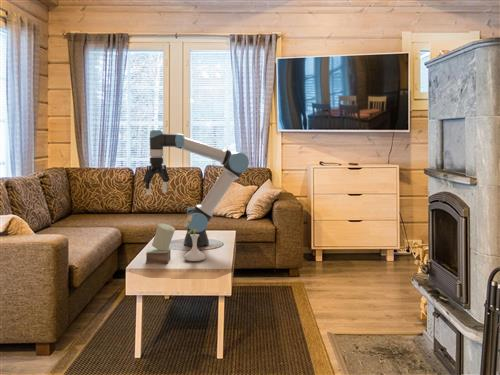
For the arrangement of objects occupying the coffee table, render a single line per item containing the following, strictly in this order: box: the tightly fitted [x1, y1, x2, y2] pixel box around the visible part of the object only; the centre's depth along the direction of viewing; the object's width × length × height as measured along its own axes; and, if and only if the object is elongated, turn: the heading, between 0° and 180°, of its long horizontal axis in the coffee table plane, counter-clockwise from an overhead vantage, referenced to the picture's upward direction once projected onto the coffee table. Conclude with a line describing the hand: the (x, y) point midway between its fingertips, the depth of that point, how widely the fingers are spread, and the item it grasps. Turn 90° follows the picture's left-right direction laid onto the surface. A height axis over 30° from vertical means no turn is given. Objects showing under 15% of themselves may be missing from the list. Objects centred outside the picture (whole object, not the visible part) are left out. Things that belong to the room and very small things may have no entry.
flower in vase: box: [182, 215, 206, 262], centre depth 265 cm, size 13×11×25 cm
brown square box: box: [145, 247, 172, 265], centre depth 263 cm, size 11×11×6 cm
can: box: [151, 222, 176, 251], centre depth 262 cm, size 9×9×12 cm
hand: (156, 193), depth 289 cm, fingers open, 13 cm apart
